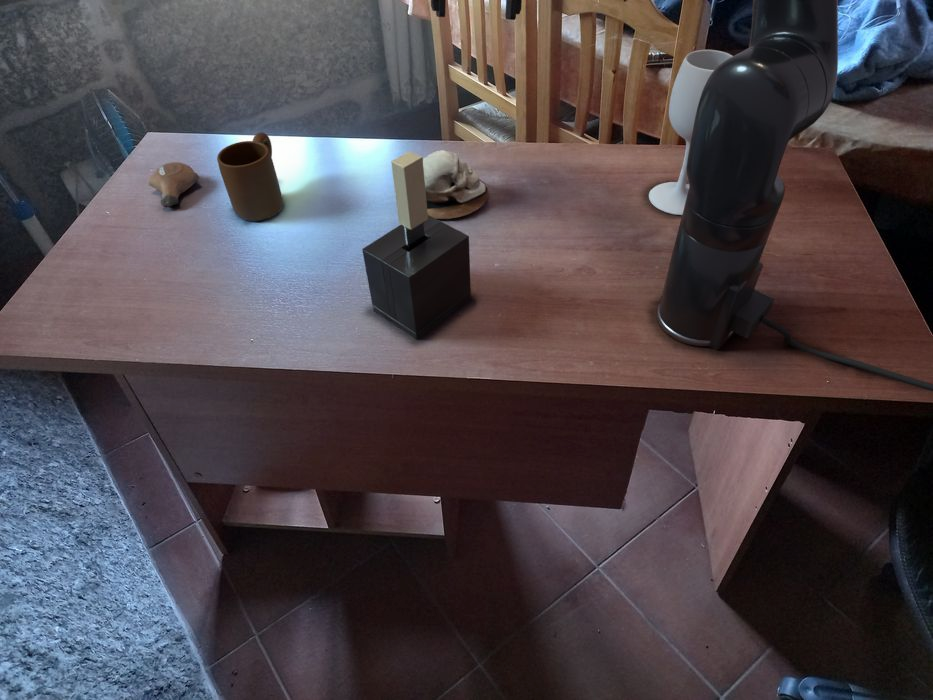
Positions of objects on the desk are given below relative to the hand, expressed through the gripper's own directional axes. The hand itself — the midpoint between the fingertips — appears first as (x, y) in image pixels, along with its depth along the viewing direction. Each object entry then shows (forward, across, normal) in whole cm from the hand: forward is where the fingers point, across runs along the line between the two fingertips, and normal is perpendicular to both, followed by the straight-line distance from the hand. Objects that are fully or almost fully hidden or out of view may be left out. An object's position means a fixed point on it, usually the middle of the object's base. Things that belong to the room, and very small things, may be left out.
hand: (476, 18), depth 77 cm
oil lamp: (+28, -42, +27) cm, 57 cm away
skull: (+26, 0, +13) cm, 29 cm away
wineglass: (+24, +34, +4) cm, 42 cm away
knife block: (+33, -8, -8) cm, 35 cm away
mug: (+28, -28, +21) cm, 44 cm away
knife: (+32, -8, -9) cm, 34 cm away
